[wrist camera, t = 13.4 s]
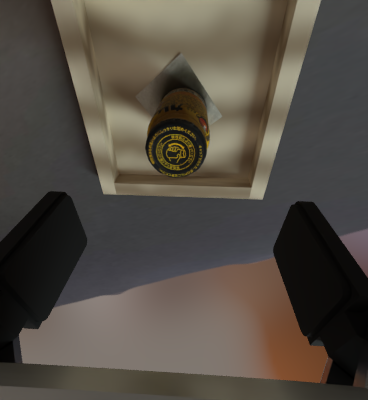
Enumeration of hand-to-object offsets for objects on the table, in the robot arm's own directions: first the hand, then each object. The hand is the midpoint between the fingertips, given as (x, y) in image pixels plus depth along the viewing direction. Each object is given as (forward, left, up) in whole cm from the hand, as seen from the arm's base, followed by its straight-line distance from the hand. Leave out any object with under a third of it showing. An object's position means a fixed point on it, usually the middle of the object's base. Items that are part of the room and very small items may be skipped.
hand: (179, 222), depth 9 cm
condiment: (0, -1, -22) cm, 22 cm away
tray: (0, -1, -22) cm, 22 cm away
